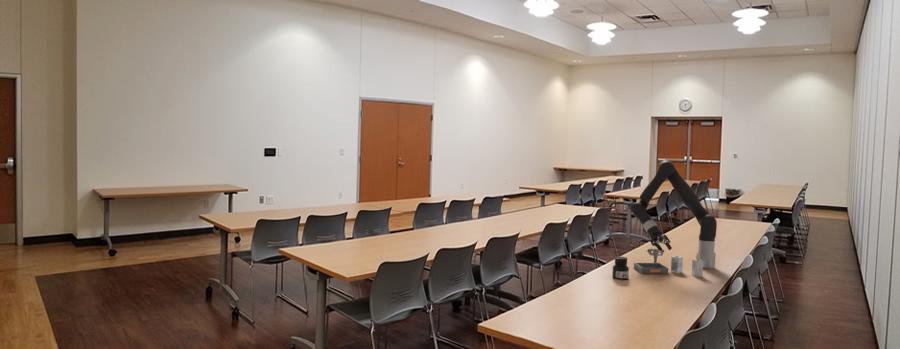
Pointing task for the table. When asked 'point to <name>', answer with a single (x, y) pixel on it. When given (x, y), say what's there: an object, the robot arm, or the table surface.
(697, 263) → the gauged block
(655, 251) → the mechanical component
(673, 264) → the block
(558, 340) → the table surface
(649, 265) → the tray
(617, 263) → the ink bottle
